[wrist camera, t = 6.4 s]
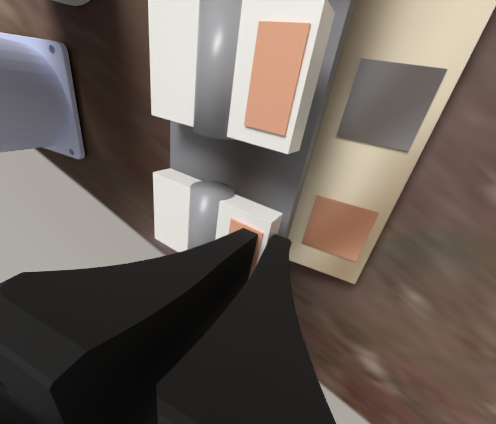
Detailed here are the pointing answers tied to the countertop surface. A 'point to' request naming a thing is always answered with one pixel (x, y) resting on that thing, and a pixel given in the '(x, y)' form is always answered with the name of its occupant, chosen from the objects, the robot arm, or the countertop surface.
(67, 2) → the coffee cup
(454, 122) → the countertop surface
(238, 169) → the switch unit
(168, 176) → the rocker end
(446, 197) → the countertop surface
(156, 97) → the rocker middle
